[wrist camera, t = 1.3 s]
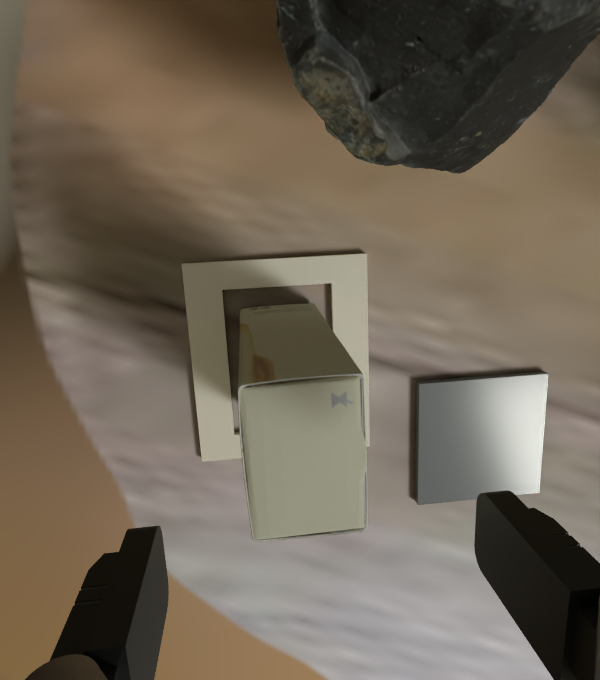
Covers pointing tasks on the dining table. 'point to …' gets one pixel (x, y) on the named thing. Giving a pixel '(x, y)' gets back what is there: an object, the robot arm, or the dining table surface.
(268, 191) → the dining table surface
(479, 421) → the tile
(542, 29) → the dark grey rock
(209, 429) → the flat square frame
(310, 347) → the skincare box
